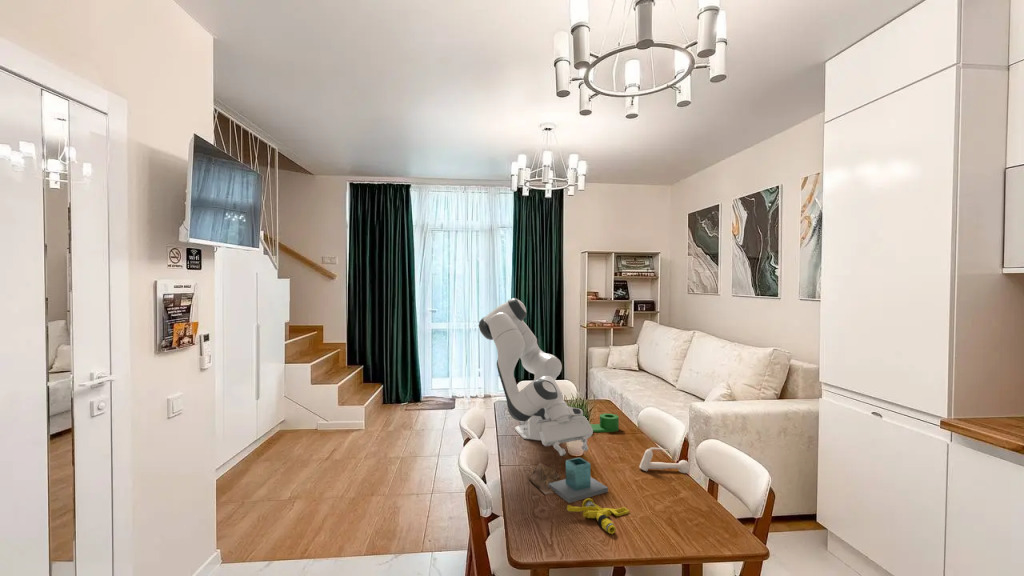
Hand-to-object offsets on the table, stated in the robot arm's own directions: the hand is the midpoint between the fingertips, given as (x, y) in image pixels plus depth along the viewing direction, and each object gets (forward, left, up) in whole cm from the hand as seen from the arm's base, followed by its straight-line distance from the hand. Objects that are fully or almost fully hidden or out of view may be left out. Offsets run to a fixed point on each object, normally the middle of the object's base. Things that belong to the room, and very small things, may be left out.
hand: (574, 452), depth 148 cm
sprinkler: (+22, -6, -12) cm, 26 cm away
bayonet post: (+3, -1, -11) cm, 12 cm away
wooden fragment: (-10, -6, -12) cm, 17 cm away
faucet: (+6, +37, -12) cm, 39 cm away
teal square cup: (+3, -1, -10) cm, 10 cm away
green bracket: (-43, +47, -12) cm, 65 cm away
